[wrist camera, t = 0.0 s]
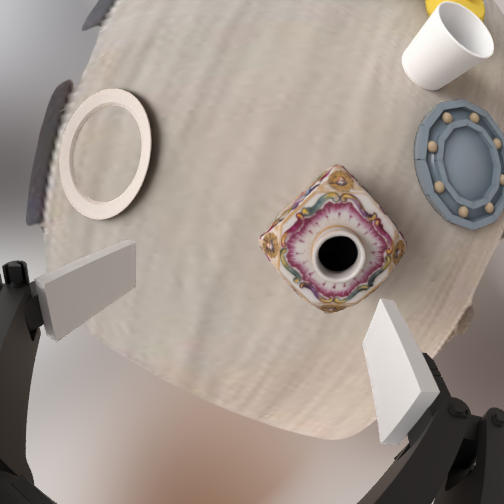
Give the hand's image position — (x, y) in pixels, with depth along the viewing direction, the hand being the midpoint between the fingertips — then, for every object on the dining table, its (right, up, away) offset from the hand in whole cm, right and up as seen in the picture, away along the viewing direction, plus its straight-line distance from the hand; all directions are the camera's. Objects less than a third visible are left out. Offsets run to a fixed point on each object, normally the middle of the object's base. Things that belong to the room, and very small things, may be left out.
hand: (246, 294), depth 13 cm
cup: (+28, +31, +15) cm, 44 cm away
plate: (-28, +21, +31) cm, 47 cm away
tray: (+34, +16, +18) cm, 42 cm away
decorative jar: (+12, +7, +26) cm, 29 cm away
